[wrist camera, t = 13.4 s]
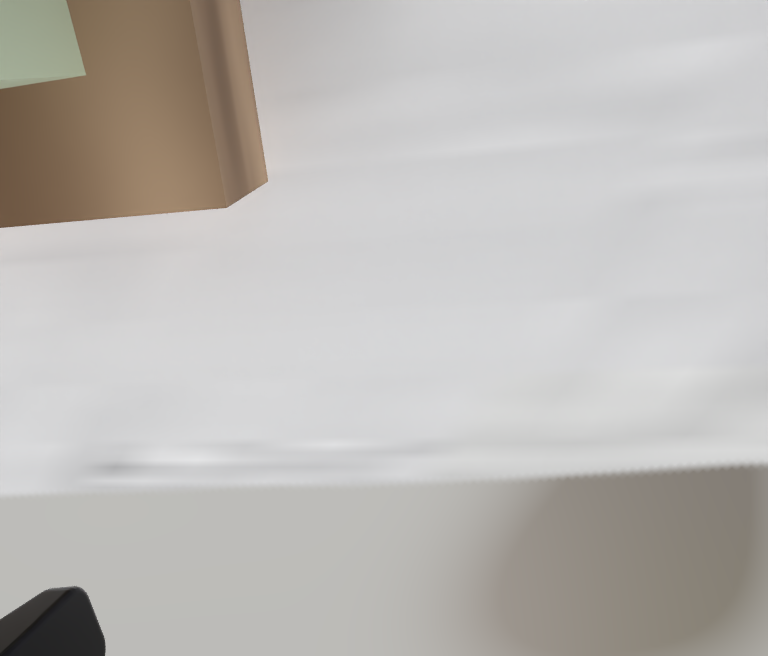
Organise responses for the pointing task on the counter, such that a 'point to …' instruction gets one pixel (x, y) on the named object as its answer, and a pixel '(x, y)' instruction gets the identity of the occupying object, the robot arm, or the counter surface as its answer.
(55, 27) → the sage cube
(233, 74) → the walnut block
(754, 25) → the counter surface
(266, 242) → the counter surface
